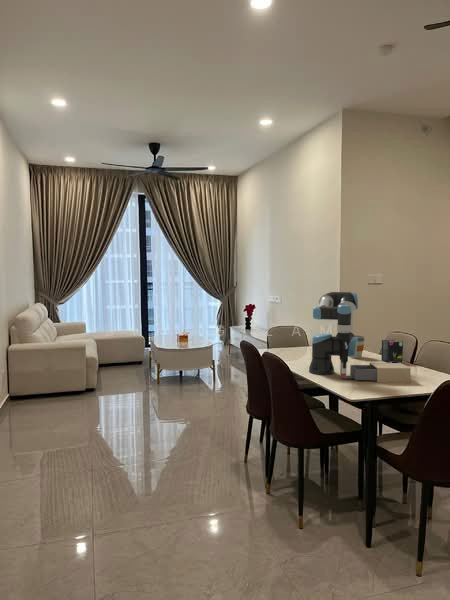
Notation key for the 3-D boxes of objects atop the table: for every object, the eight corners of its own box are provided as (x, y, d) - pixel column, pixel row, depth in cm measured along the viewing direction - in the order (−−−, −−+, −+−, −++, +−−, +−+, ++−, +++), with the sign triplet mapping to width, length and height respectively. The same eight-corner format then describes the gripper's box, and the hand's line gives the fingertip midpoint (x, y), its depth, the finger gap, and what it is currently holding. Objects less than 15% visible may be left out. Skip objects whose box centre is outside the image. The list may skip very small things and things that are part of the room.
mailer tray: (343, 380, 246) (343, 362, 246) (338, 375, 259) (338, 357, 258) (386, 380, 246) (387, 362, 245) (379, 375, 258) (379, 358, 258)
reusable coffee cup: (362, 355, 326) (362, 335, 325) (365, 358, 314) (366, 337, 313) (344, 355, 328) (345, 335, 327) (347, 358, 315) (348, 337, 314)
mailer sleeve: (377, 382, 245) (377, 368, 244) (369, 376, 260) (369, 362, 259) (410, 382, 244) (410, 368, 244) (400, 376, 259) (400, 362, 259)
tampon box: (389, 363, 298) (389, 341, 297) (380, 360, 307) (381, 339, 306) (403, 362, 301) (403, 341, 300) (394, 359, 310) (394, 339, 309)
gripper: (354, 333, 244) (353, 375, 245) (347, 330, 258) (346, 370, 260) (340, 333, 244) (339, 375, 245) (334, 330, 258) (334, 370, 260)
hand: (343, 372), depth 252 cm, fingers closed on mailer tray, 2 cm apart
